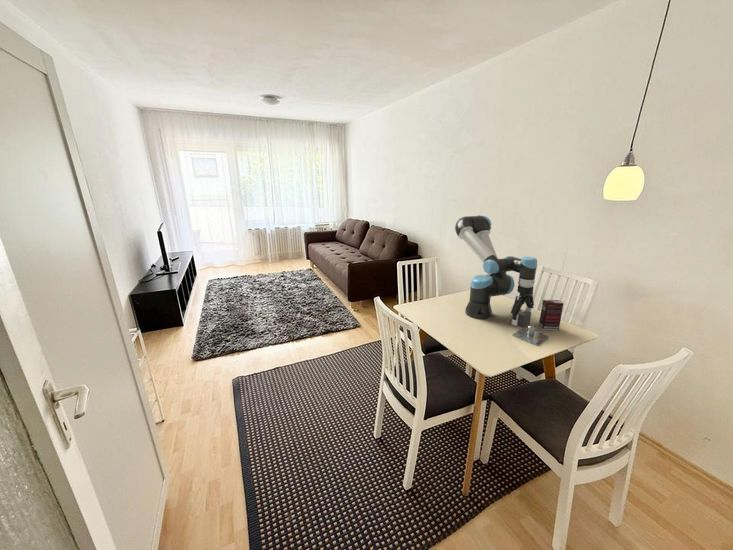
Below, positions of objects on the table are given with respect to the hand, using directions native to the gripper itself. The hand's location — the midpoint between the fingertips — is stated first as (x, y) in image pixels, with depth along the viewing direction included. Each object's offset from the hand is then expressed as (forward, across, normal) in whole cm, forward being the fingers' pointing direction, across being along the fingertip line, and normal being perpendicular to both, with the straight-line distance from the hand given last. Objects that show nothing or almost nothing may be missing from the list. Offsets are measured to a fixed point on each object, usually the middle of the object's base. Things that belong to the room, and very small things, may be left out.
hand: (520, 321), depth 165 cm
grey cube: (+1, 0, 0) cm, 1 cm away
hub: (+2, -11, -11) cm, 15 cm away
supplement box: (+2, +6, -12) cm, 14 cm away
